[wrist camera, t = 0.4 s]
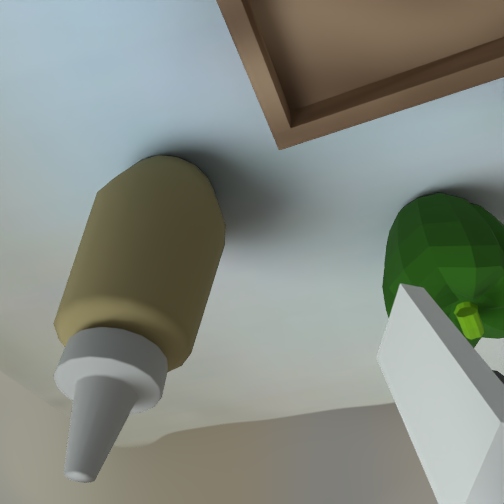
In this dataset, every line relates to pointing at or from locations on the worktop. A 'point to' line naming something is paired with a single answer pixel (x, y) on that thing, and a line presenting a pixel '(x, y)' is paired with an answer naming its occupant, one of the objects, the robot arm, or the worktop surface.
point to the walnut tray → (360, 57)
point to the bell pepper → (450, 262)
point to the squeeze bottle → (134, 299)
